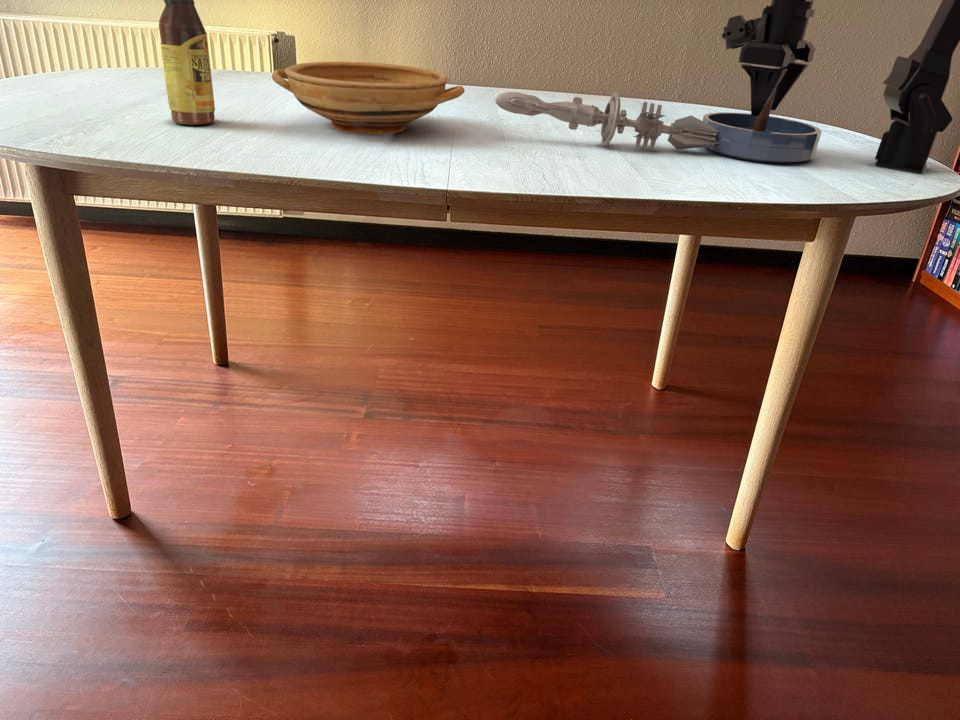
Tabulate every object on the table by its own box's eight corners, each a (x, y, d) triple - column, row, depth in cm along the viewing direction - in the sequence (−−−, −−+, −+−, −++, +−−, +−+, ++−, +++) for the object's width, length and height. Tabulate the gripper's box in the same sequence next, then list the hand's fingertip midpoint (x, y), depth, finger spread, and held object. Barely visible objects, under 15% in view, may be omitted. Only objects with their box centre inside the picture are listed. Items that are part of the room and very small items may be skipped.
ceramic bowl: (473, 121, 116) (476, 71, 112) (448, 152, 95) (451, 91, 91) (304, 106, 118) (301, 55, 114) (243, 132, 97) (237, 72, 93)
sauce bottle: (207, 128, 98) (187, -31, 88) (163, 125, 98) (139, -35, 88) (223, 119, 104) (206, -31, 94) (182, 116, 104) (160, -34, 94)
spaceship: (497, 79, 106) (501, 63, 98) (715, 118, 108) (735, 106, 100) (489, 131, 107) (492, 119, 99) (705, 169, 109) (725, 160, 101)
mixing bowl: (823, 154, 111) (832, 125, 109) (796, 172, 99) (805, 140, 96) (718, 135, 120) (724, 108, 118) (680, 149, 107) (687, 119, 105)
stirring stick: (770, 148, 110) (793, 64, 103) (763, 152, 107) (786, 66, 100) (745, 144, 111) (766, 61, 105) (738, 147, 109) (759, 62, 102)
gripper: (755, -3, 109) (731, 99, 117) (716, -6, 96) (692, 110, 104) (829, 2, 104) (798, 110, 112) (798, 0, 90) (766, 122, 98)
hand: (763, 112), depth 106 cm, fingers open, 9 cm apart
